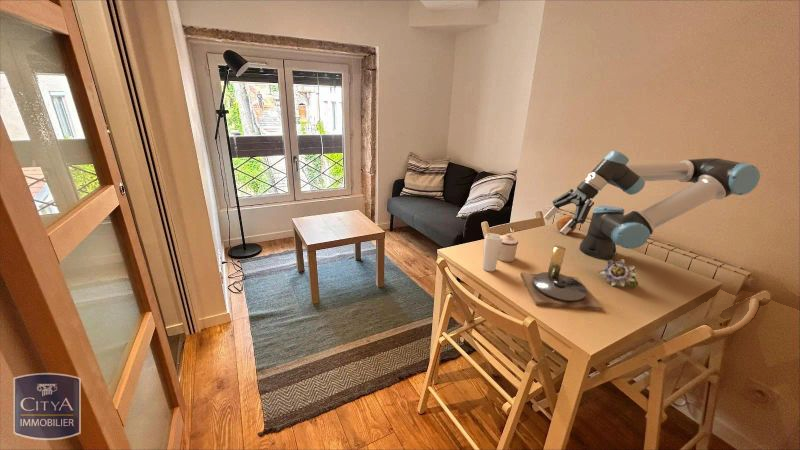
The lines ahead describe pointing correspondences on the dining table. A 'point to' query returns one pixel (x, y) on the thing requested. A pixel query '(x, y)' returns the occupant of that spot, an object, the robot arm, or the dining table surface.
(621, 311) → the dining table surface
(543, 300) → the base plate
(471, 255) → the dining table surface
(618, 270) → the passion flower
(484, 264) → the drinking glass
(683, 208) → the robot arm
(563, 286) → the handwheel
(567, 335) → the dining table surface
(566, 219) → the onion
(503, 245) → the teacup with lid
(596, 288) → the dining table surface
